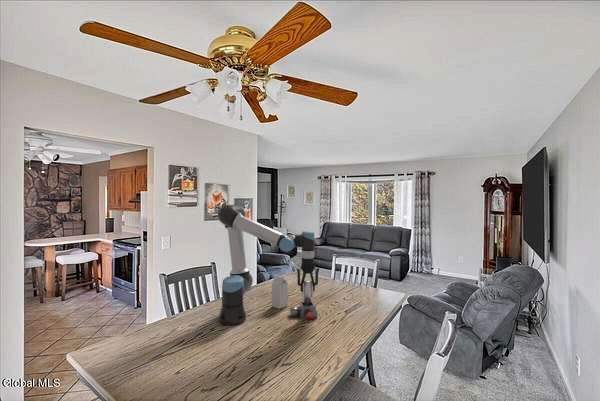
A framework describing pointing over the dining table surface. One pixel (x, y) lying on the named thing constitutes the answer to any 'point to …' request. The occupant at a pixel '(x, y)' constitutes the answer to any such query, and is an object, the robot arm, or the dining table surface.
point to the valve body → (304, 310)
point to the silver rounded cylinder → (307, 291)
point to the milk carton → (279, 292)
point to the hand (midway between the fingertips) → (307, 296)
